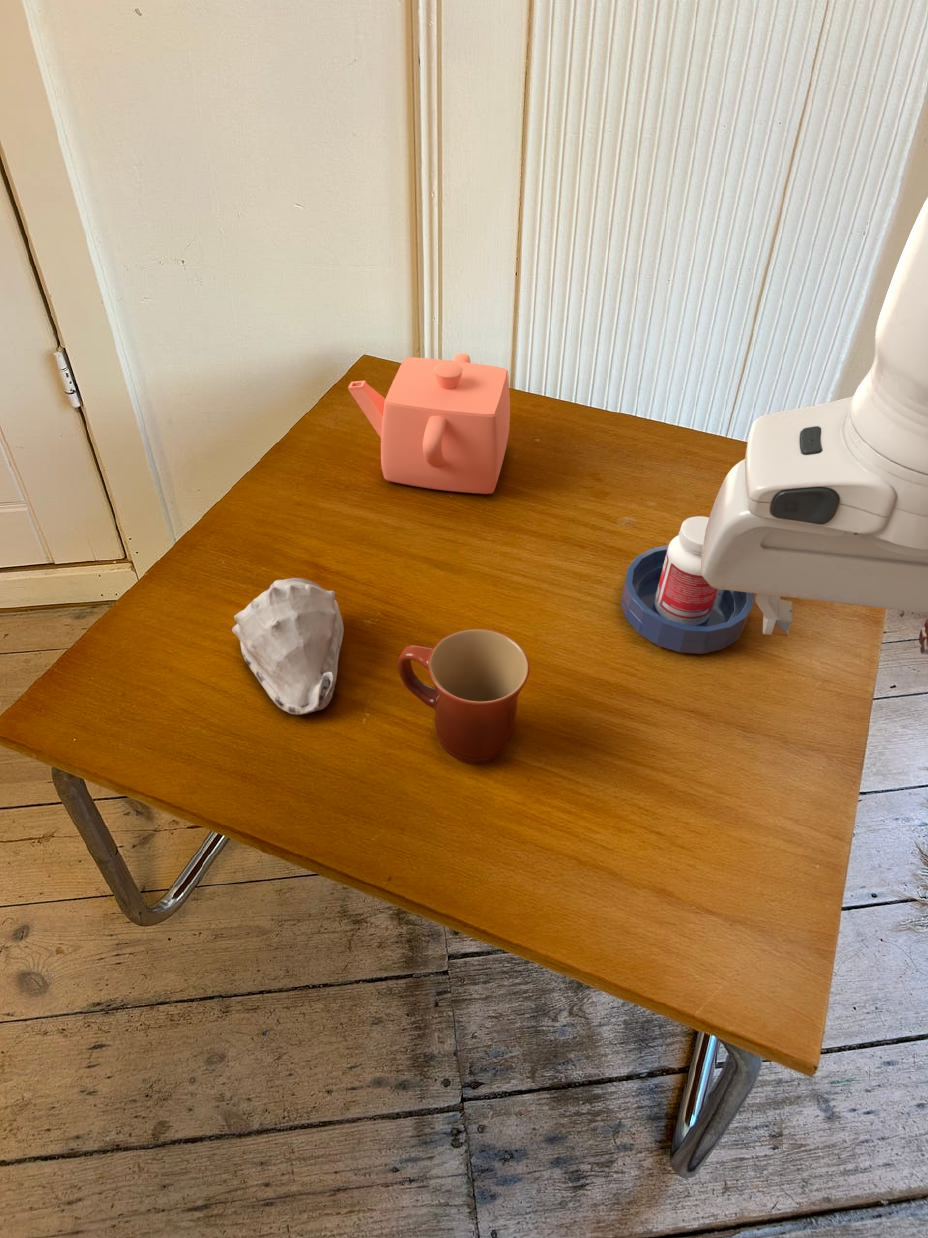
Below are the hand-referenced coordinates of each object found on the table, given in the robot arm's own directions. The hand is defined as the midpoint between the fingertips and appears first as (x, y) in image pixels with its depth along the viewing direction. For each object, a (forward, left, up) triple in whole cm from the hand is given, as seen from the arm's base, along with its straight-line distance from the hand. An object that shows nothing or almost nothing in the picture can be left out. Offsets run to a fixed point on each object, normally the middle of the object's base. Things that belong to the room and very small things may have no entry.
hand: (851, 637), depth 55 cm
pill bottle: (+7, -29, -27) cm, 40 cm away
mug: (+27, -7, -27) cm, 39 cm away
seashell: (+44, -12, -27) cm, 53 cm away
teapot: (+41, -49, -27) cm, 69 cm away
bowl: (+7, -29, -27) cm, 40 cm away
